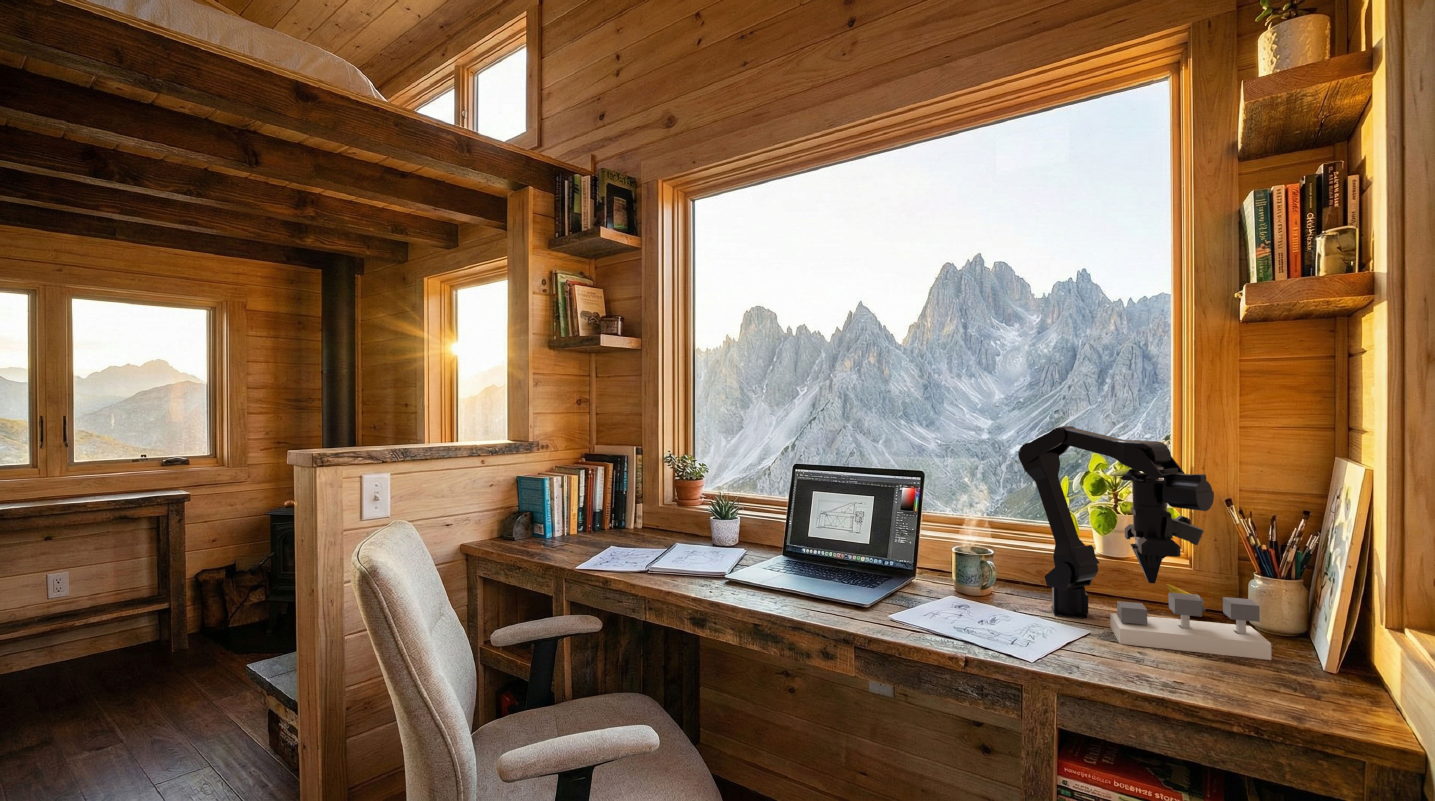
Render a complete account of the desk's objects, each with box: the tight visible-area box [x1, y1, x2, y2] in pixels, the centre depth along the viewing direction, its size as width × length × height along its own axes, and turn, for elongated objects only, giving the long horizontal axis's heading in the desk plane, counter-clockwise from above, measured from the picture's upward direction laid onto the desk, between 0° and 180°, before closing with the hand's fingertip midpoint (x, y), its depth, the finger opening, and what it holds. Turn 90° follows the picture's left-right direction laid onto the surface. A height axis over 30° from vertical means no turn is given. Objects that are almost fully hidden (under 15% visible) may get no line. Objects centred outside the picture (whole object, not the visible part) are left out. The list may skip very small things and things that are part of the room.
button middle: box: [1168, 592, 1203, 629], centre depth 130 cm, size 4×4×6 cm
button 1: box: [1116, 600, 1148, 625], centre depth 133 cm, size 4×4×6 cm
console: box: [1109, 612, 1272, 661], centre depth 130 cm, size 24×10×3 cm, turn 68°
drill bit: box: [1165, 583, 1207, 616], centre depth 146 cm, size 5×5×10 cm
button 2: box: [1222, 596, 1261, 634], centre depth 126 cm, size 4×4×6 cm
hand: (1151, 582), depth 131 cm, fingers closed
